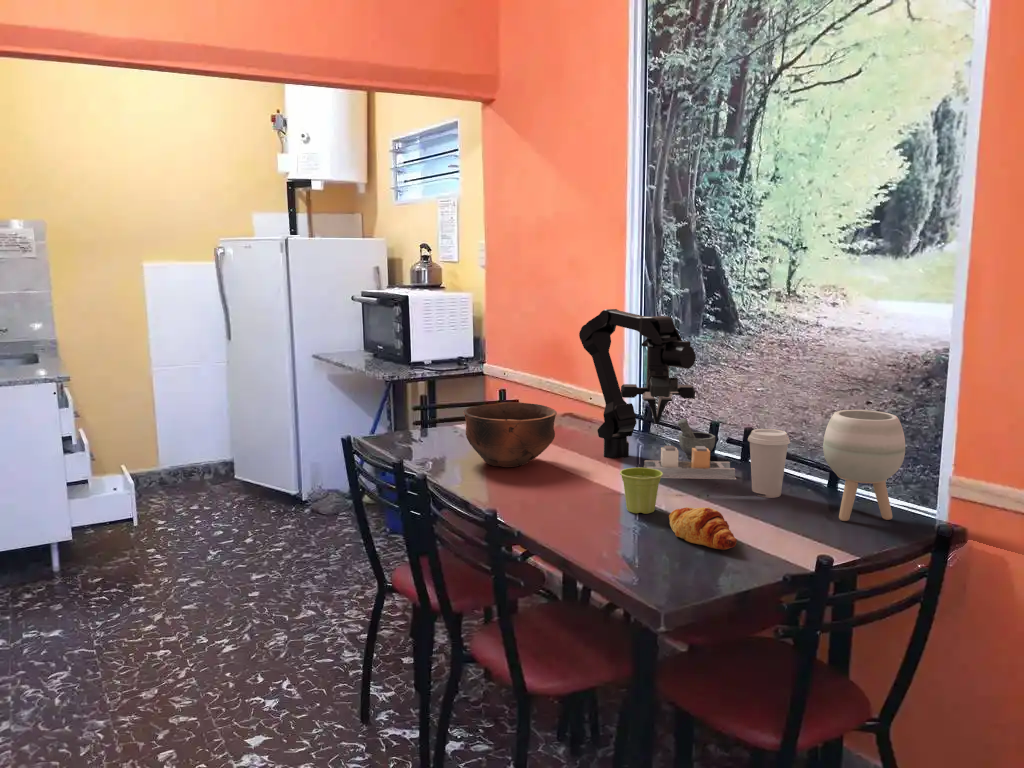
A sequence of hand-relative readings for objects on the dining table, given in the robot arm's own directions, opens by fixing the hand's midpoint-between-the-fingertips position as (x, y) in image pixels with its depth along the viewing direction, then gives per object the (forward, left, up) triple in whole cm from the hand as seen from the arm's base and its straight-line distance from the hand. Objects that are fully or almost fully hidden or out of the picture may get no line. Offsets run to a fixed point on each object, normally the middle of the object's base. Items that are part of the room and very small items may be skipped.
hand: (656, 423), depth 214 cm
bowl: (-39, +4, -13) cm, 41 cm away
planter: (+40, -37, -13) cm, 56 cm away
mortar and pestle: (+12, +12, -13) cm, 21 cm away
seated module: (+3, -5, -12) cm, 13 cm away
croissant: (+4, -53, -13) cm, 55 cm away
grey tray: (+8, -5, -12) cm, 16 cm away
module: (+11, -5, -12) cm, 17 cm away
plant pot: (-7, -36, -13) cm, 39 cm away
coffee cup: (+24, -21, -13) cm, 34 cm away
